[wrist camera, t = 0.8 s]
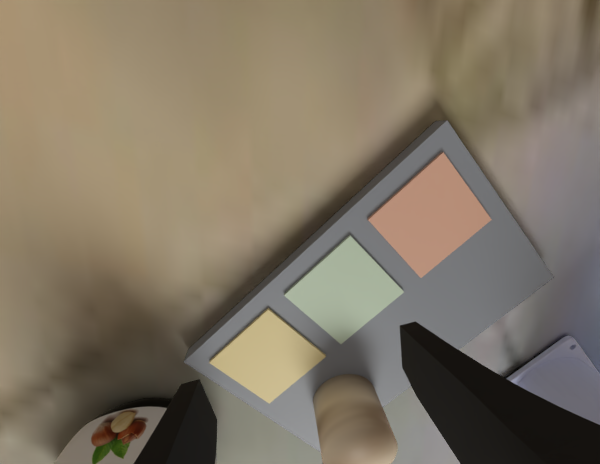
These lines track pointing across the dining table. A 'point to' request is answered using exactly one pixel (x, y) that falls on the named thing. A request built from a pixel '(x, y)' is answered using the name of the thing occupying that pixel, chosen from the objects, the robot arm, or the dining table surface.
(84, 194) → the dining table surface
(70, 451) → the spread jar
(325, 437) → the disc
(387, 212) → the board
